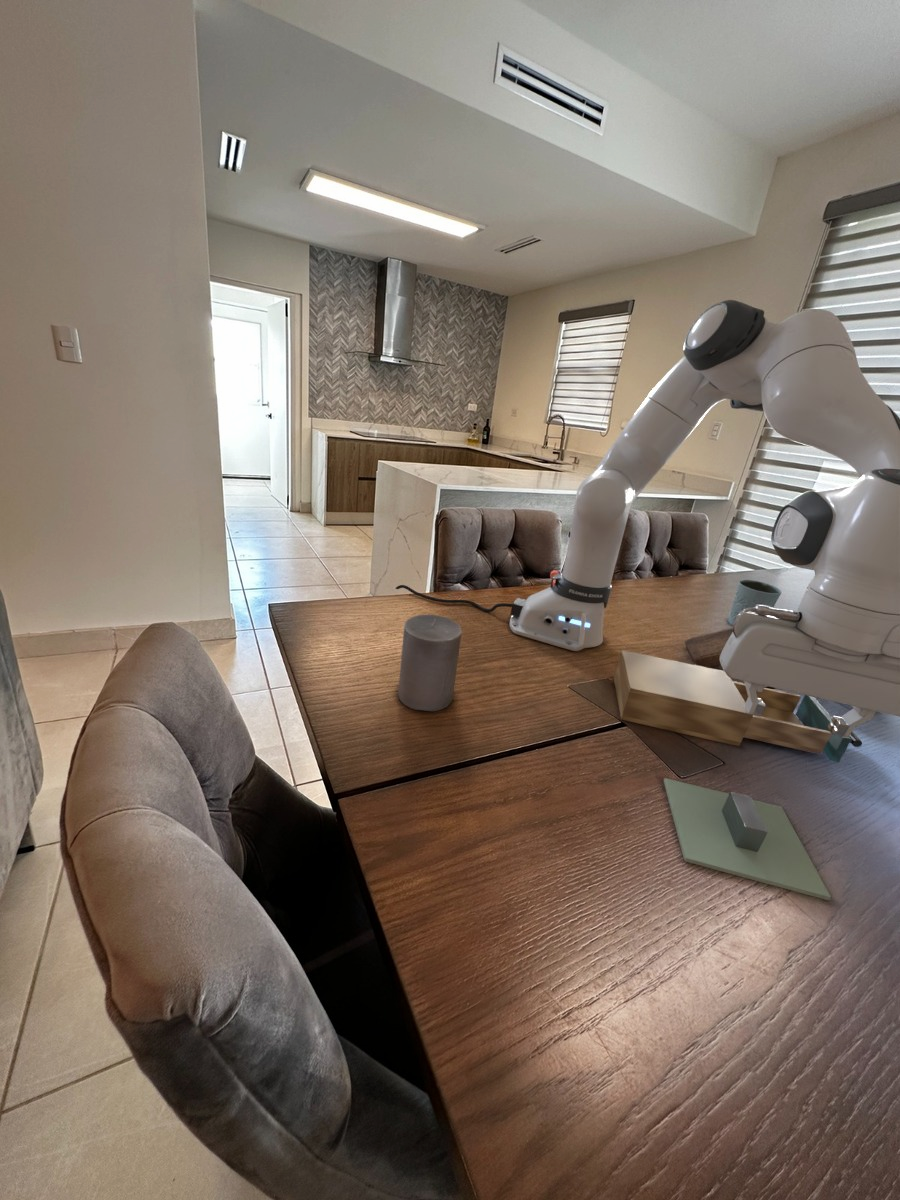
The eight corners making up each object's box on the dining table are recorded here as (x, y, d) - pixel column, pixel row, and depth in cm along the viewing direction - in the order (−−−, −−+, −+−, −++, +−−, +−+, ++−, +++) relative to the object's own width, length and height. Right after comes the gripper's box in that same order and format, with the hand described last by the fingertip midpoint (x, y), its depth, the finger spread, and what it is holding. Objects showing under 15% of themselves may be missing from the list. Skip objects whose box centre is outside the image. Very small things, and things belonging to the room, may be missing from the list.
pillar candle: (427, 675, 89) (435, 603, 83) (464, 700, 83) (475, 624, 77) (386, 692, 83) (392, 614, 77) (422, 720, 76) (432, 638, 71)
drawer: (825, 720, 89) (836, 699, 87) (866, 768, 77) (880, 745, 75) (699, 693, 93) (707, 673, 91) (719, 735, 81) (728, 712, 79)
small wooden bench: (709, 716, 108) (864, 688, 98) (694, 658, 103) (855, 623, 94) (697, 692, 117) (837, 664, 108) (683, 638, 113) (828, 604, 103)
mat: (684, 861, 57) (685, 858, 57) (663, 780, 70) (664, 777, 70) (829, 901, 54) (831, 897, 54) (780, 809, 67) (781, 806, 67)
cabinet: (715, 699, 93) (726, 671, 91) (739, 746, 80) (753, 714, 77) (613, 678, 96) (621, 649, 94) (620, 719, 83) (630, 688, 81)
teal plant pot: (765, 625, 134) (781, 586, 129) (765, 637, 126) (782, 596, 121) (725, 614, 138) (740, 576, 134) (723, 625, 130) (738, 585, 126)
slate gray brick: (735, 846, 59) (745, 826, 58) (721, 810, 65) (730, 791, 64) (757, 852, 59) (768, 832, 58) (741, 815, 64) (750, 796, 63)
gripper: (751, 611, 52) (709, 714, 57) (971, 656, 47) (903, 763, 53) (735, 592, 57) (698, 688, 63) (931, 630, 53) (873, 729, 58)
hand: (793, 722), depth 58 cm, fingers open, 8 cm apart
